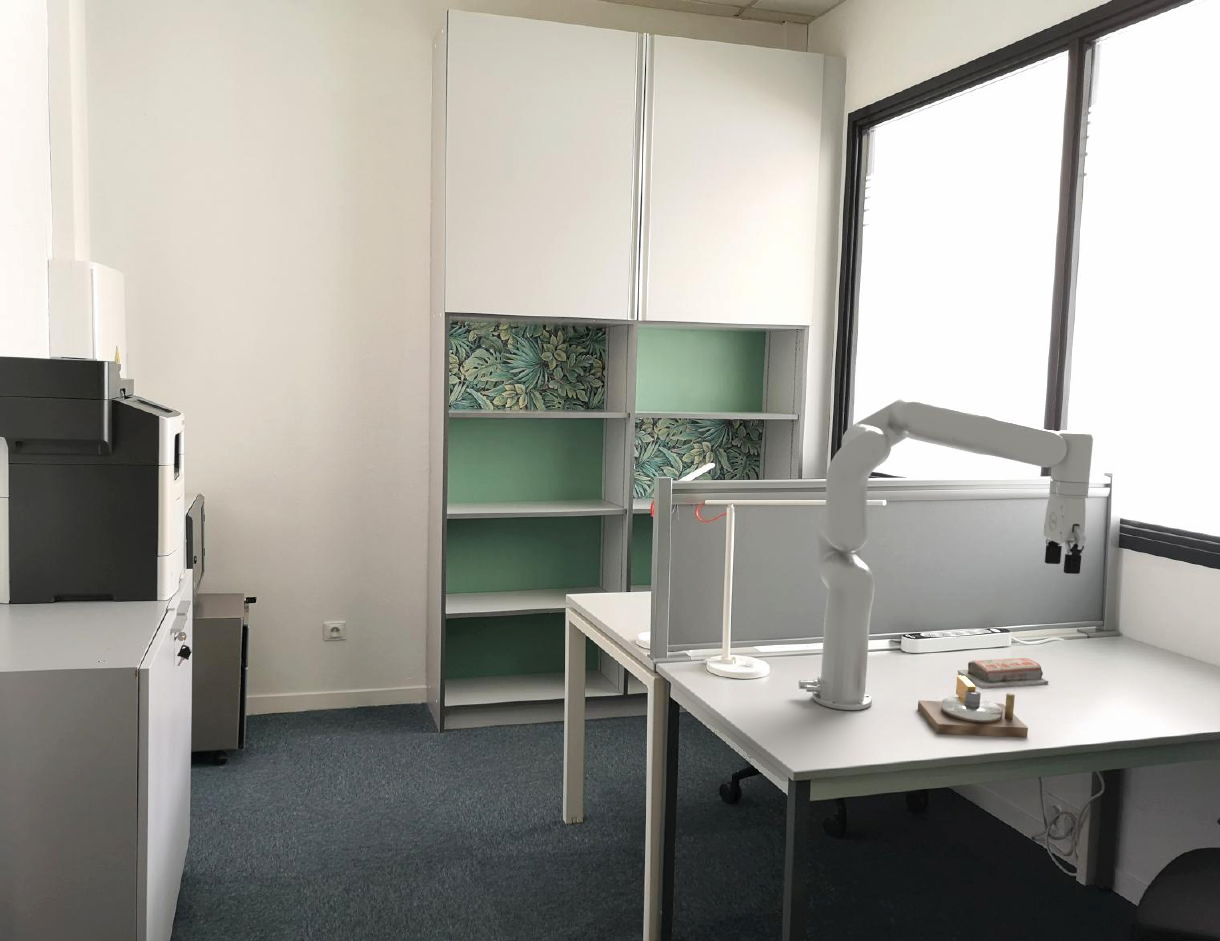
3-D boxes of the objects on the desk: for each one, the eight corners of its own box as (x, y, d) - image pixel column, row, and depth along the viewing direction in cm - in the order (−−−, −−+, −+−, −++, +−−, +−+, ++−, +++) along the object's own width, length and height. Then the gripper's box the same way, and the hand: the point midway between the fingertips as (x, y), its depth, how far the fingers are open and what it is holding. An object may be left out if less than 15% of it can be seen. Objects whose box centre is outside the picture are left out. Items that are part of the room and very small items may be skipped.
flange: (1011, 723, 209) (1013, 698, 209) (951, 721, 209) (953, 696, 209) (987, 700, 223) (989, 676, 222) (931, 697, 223) (932, 674, 223)
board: (937, 733, 209) (939, 699, 208) (917, 709, 222) (920, 677, 222) (1027, 737, 208) (1030, 703, 208) (1001, 712, 222) (1004, 681, 221)
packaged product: (1022, 653, 252) (1050, 666, 243) (1020, 672, 253) (1048, 686, 243) (958, 656, 247) (983, 669, 238) (956, 676, 248) (982, 690, 238)
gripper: (1035, 483, 228) (1028, 559, 231) (1068, 494, 211) (1061, 576, 213) (1069, 484, 228) (1062, 560, 230) (1105, 495, 211) (1097, 578, 213)
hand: (1061, 568), depth 222 cm, fingers open, 9 cm apart
